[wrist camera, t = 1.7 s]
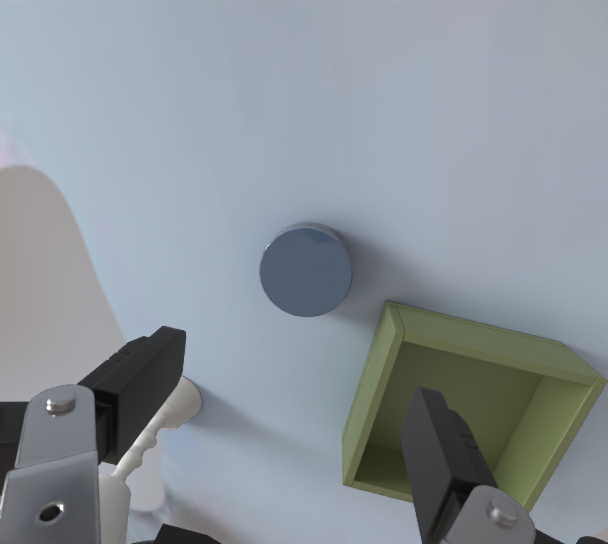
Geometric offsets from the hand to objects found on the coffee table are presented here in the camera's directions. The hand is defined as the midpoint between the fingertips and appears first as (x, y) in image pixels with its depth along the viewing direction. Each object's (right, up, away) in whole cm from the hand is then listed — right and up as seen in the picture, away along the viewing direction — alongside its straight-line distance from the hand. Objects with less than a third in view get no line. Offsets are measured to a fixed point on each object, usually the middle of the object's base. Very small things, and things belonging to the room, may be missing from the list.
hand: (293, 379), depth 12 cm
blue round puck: (+1, +4, +14) cm, 15 cm away
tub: (+12, -6, +16) cm, 21 cm away
